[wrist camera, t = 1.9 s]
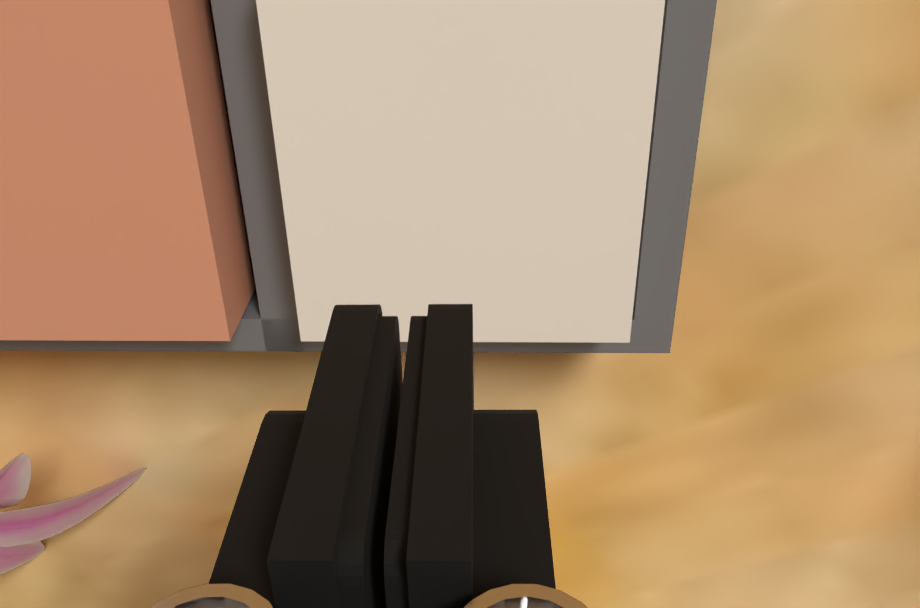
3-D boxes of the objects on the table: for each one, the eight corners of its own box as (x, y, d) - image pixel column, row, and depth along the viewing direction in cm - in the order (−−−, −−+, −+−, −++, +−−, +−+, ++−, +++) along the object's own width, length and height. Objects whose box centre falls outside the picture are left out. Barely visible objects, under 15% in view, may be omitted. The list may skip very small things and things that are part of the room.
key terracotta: (254, 289, 23) (230, 341, 20) (-34, 288, 23) (-89, 339, 21) (200, -52, 18) (162, -31, 16) (-155, -47, 19) (-239, -27, 16)
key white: (616, 289, 22) (629, 343, 20) (319, 289, 22) (300, 341, 20) (647, -57, 18) (668, -37, 16) (280, -53, 18) (251, -33, 16)
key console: (643, 270, 26) (669, 352, 22) (-5, 268, 27) (-89, 349, 23) (686, -138, 20) (733, -123, 16) (-136, -126, 21) (-278, -109, 17)
